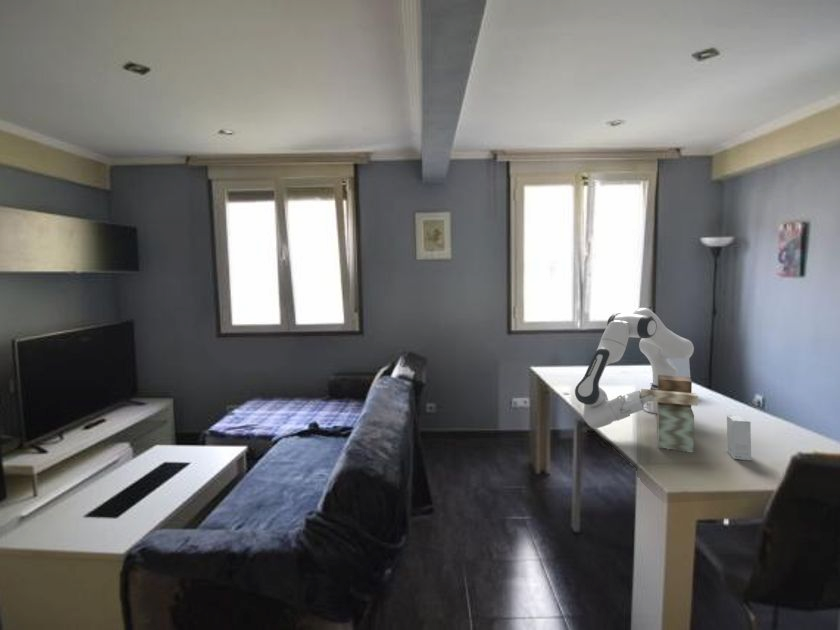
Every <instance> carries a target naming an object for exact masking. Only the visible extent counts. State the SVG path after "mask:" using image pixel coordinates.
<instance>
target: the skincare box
mask: <svg viewBox="0 0 840 630" xmlns="http://www.w3.org/2000/svg"><path fill="white" fill-rule="evenodd" d="M751 424H752V423H751V421H750V420H749V419H748V418H746V417H745V416H744V415H726V436H727V437H726V438H727V439H726V443H727V445H726V449H727V453H728V454H729V455H730V457H731V458H732V459H733V460H742V461H748V462H749V461H751V460H752V441H751V440H752V439H751V437H752V436H751V435H752V433H751V428H752V427H751Z"/></svg>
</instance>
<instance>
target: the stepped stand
mask: <svg viewBox="0 0 840 630" xmlns="http://www.w3.org/2000/svg"><path fill="white" fill-rule="evenodd" d="M692 387H693V385H692V379H691V376H690V377H681V376H665V375H658V390H661V391H674V392H686V393H693V392H692V389H693V388H692ZM694 429H695V413H694V411H693V409H692V405H685V404H674V403H663V402H657V415H656V436H657V445H658V446H657V447H658V448H659V447H660V448H659V449H662V448H667V449H666V450H669V449H675V450H674V451H677V450H682V451H681V452H685V451H689V452H688V453H692V452H693V453H694V446H695V445H694V441H695V440H694V439H695V438H694V437H695V436H694V435H695V431H694Z"/></svg>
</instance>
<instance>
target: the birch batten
mask: <svg viewBox="0 0 840 630" xmlns="http://www.w3.org/2000/svg"><path fill="white" fill-rule="evenodd" d="M640 392H641V398H644V397H646V396H648V395H650V394H652V395H653V397H654V399H652V400H650V401H652V402H663V403H674V404H685V405H691V406H696V407H697V406H698V405H699V395H698V393H696V392H691V393H686V392H674V391H661V390H651V389H648V388H641V389H640Z"/></svg>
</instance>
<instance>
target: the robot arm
mask: <svg viewBox="0 0 840 630" xmlns="http://www.w3.org/2000/svg"><path fill="white" fill-rule="evenodd" d="M606 323H607V324H606V328H605V330H604V332H603V333H602V336H601V338H600V341H599V344H598V347H597V348H596V351H595V353H594V354H593V356H592V358H591V361H590V363H589V365H588V368H587V369H586V371H585V374H584V375H583V378H582V379H581V380H580V381H579V382H578V383H577V385H576V386H575V389H574V395H575V398H576V400H577V401H578V402H579V403H582V404H583V406H584V408H583V412H582V415H581V416H582V419H583V420H584V422H585V424H586V425H587V426H588V427H590V428H591V429H599V428H603V427H606V426H608V425H611V424H612V423H613V422H617V421H621V420H624V419H625V418H628V417H631V415H632V414H635V413H638V412H640V411H642V410H643V411H645V412H646V413H651V414H657V402H652V401H650V400H652V399H654V397H653V395H652V394H650V395H648V396H646V397H644V398H641V390H635V391H632V392H629V393H627V394H626V393H625V394H623V395H621V394H620V395H618V396H617V397H615V398H613V399H611V400H609V398H608V394H607V393H606V391H605V390H604V389H603V388H601V387H600V385H599V384H600V380H601V378H602V376H603V373H604V372H605V369H606V367H607V366H608V365H609V364H613V363H617V362H619V361H620V360H622V358H623V355H624V354H625V351H626V350H627V349H626V348H627V345H628V342H629V338H639V339H640V341H639V344H638V346H639V350H640V352H641V353H642V354H643V355H644V356H645V357H646V359H647V360H648V361H649V363H650V366H651V371H652V382H651V383H649V384H650V389H649V390H658V375H665V376H677V375H678V372H677V370H676V368H675V367H674V366H672V365H671V364H670V363H669V362H668V361H667V358H670V359H688V358H689V359H690V358H691V357H692V356H693V354H694V352H695V351H694V350H695V347H694V344H693V342H692V341H691V340H689V339H688V338H684V337H682V336H680V335H678V334H676V333H674V331H672V330H670V329H669V328H667V326H665V324H664V323H663V321H662V320H661V319H660V318H659V317H658V315H657V314H656V313H654V312H653V311H652V310H651V309H650V308H648V307H640V308H638V309H636V310H635V311H634V312H633V313H621V312H618V313H613V314H611V315H610V316H609V318H608V319H607V322H606Z"/></svg>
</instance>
